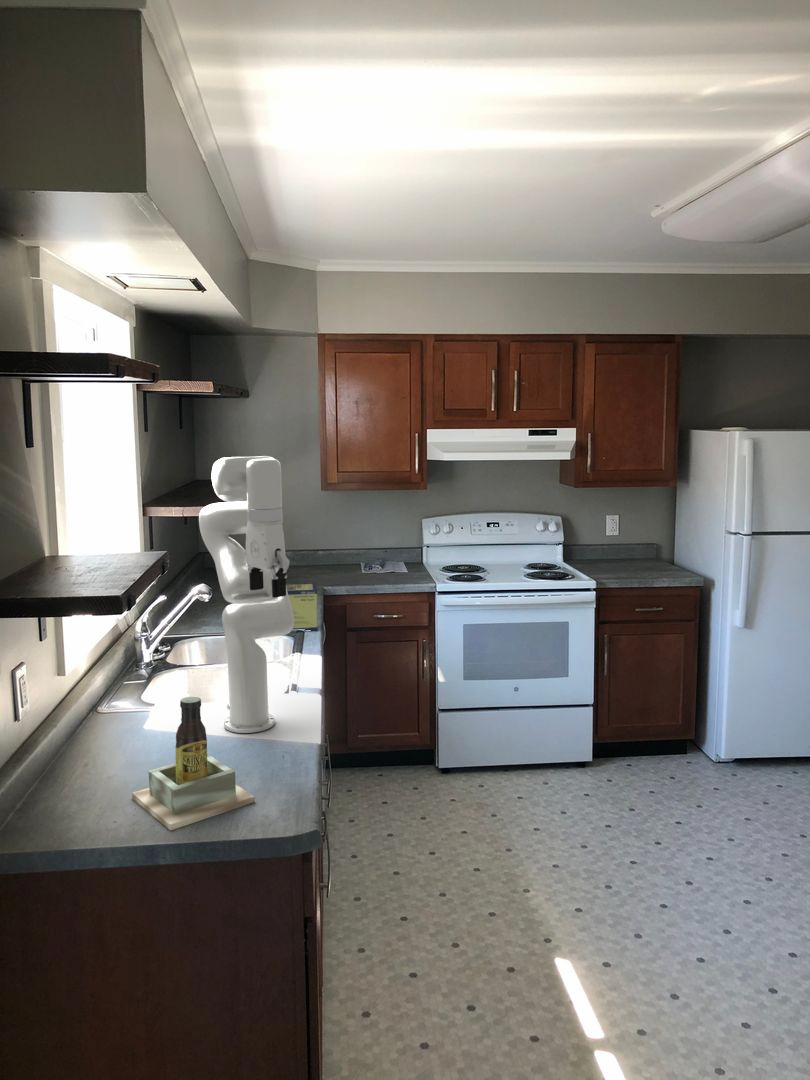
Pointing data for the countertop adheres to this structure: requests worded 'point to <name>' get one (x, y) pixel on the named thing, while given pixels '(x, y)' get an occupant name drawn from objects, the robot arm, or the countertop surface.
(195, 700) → the sauce bottle
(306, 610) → the protein box
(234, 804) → the tray
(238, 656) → the robot arm
